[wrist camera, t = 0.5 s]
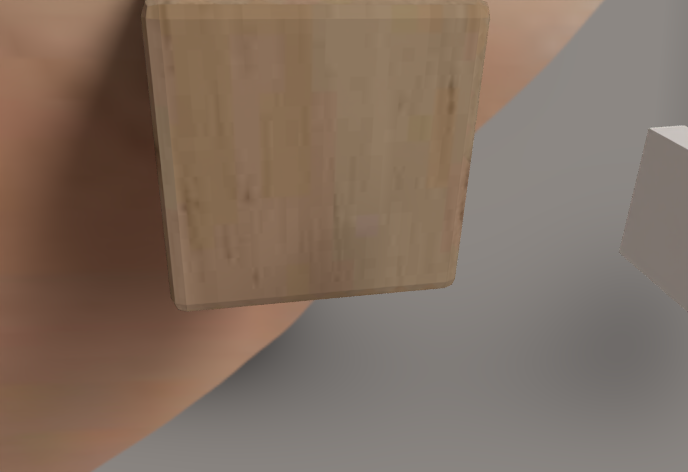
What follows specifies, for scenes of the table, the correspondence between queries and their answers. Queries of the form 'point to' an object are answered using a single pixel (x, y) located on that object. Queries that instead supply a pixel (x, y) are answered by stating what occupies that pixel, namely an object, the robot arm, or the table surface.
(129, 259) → the table surface
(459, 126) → the wooden block
